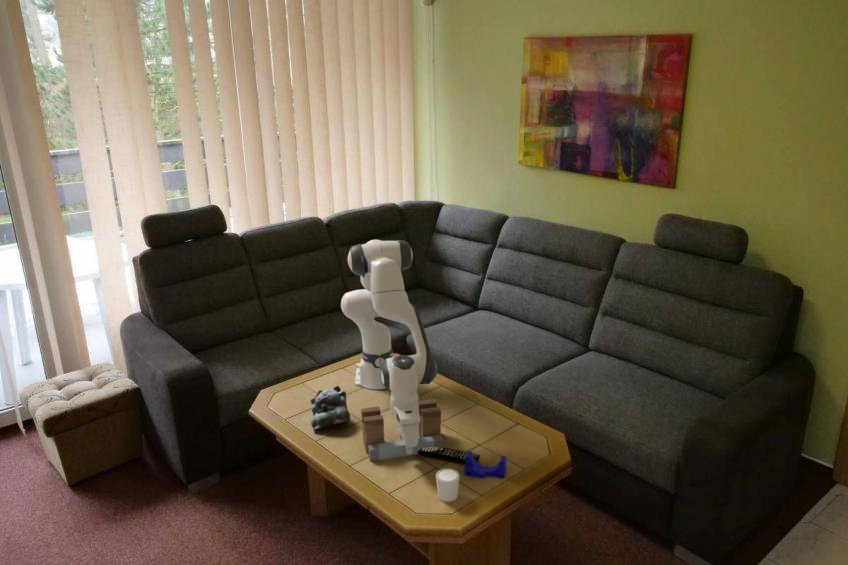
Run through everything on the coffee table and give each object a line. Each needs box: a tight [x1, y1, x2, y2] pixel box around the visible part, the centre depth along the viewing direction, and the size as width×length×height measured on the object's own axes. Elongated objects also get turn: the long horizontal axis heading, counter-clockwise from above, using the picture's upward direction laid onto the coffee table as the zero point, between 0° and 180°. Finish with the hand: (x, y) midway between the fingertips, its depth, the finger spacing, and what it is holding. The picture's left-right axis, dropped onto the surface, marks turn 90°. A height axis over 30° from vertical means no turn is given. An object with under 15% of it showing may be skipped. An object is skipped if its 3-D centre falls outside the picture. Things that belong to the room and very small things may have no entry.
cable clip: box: [464, 450, 507, 479], centre depth 198 cm, size 12×4×6 cm, turn 74°
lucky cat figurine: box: [309, 385, 352, 431], centre depth 228 cm, size 15×12×14 cm
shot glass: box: [435, 468, 460, 503], centre depth 188 cm, size 7×7×7 cm
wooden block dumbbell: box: [360, 398, 442, 454], centre depth 215 cm, size 8×25×12 cm, turn 103°
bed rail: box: [368, 434, 444, 462], centre depth 210 cm, size 3×24×4 cm, turn 103°
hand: (406, 445), depth 209 cm, fingers open, 8 cm apart
